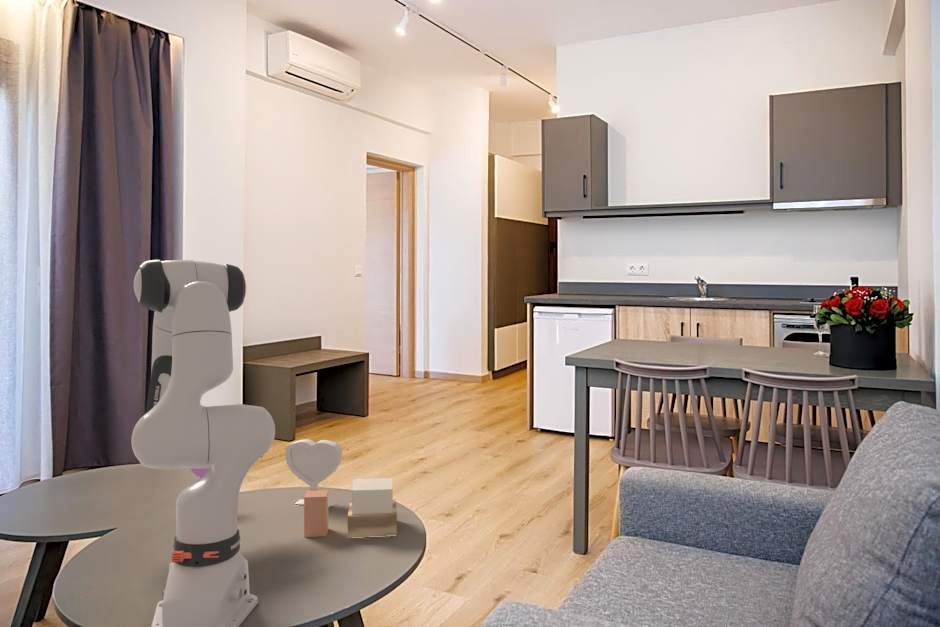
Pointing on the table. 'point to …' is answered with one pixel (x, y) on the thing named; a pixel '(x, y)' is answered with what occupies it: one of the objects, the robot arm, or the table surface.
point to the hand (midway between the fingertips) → (266, 448)
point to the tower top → (372, 496)
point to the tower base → (372, 523)
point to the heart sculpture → (313, 461)
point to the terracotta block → (316, 513)
